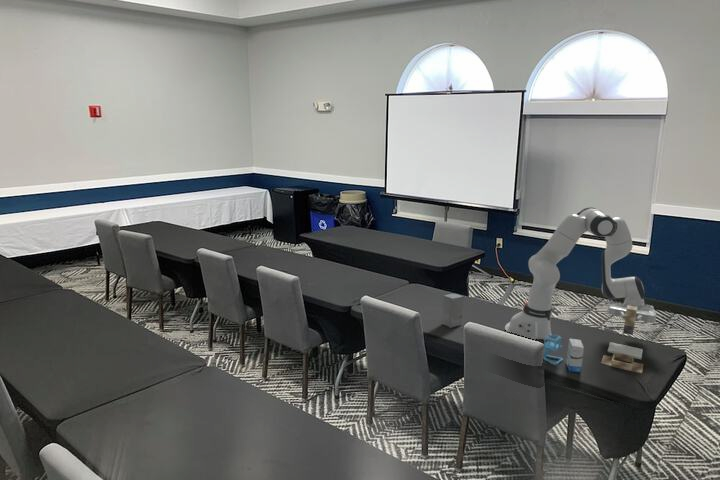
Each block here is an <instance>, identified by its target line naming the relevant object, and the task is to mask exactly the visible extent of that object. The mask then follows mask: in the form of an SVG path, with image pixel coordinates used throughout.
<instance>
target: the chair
mask: <svg viewBox="0 0 720 480" xmlns="http://www.w3.org/2000/svg"><path fill="white" fill-rule="evenodd" d="M553 337H554V338H553ZM542 340H543V342H544V343H543V344H544V349H543V348H542V352H543V356H544V361H545V362H547V361H548V362H547V363H549V364H551V365H552V364H553V365H552V366H554V365H555V366H554V367H556V366H558V365H559V364H561V363H562V362H563V361H564V358H563V357H559V356H554V355H550V354H549V352H550V351H552V352H554V353H555V352H556V353H557V351H558V350H560V349H562V348H563V345H562V343H561V342H562V340H563V338H562V337H561V336H560V335H558V334H552V335H549V338H543V339H542ZM547 357H548V358H547ZM552 358H553V359H554V360H557V361H555V362H554V361H552V360H551V359H552Z"/></svg>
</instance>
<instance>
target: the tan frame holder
mask: <svg viewBox="0 0 720 480" xmlns="http://www.w3.org/2000/svg"><path fill="white" fill-rule="evenodd" d="M612 354H613V355H612V356H610V355H609V356H608V355H606V354H604V355H603V356H602V359H601V362H600V364H601V365H603V366H604V365H605V366H608V367H612V368H617V369H620V370H625V371H629V372H633V373H639V374H641V375H642V374H643V369H644V363H639V362H635V358H634V356H629V355H625V354H621V353H616V352H614V353H612Z"/></svg>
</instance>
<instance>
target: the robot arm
mask: <svg viewBox="0 0 720 480" xmlns="http://www.w3.org/2000/svg"><path fill="white" fill-rule="evenodd" d="M585 233H590V234H593V236H596V237H599V238H605V239H604V240H605V244H606V247H605V249H604V250H603V251H602V253H601V279H602V280H601V281H602V283H601V293H602V295H603V297H605V298H606V299H608V300H610V301H611V300H616V299H620V298H621V299H622V298H624V301H623V304H618V303H610V304H609V305H608V307H607V314H608V315H611V316H615V317H620V318H621V319H622V320H625V317H626V310H627V306H628V305H629V306H634V307H637V312H636V318H635V322H646V323H653V324H655V323H656V320H657V312H656V310H655V308H654V306H653V305H650V304H646V303H645V299H644V298H645V295H646V292H645V291H646V289H645V285H644V282H643V281H642V279H640V278H639V277H637V276H626V277H621V278H620V277H619V278H612V274H611V272H612V271H611V266H612V265H613V264H614V263H615V262H617V261H619V260H621V259H623V258H625V257H627V256H628V255H629V254H630V253H631V252H632V249H633V241H632V240H633V238H632V235H631V231H630V229H629V227H628V224H627V222H626V220H625V219H624V218H622V217H618V216H616V217H615V216H613V217H611V216H610V215H608V214H606V213H605V212H604V211H602V210H599V209H597V208H596V207H591V206H590V207H585V208H583V209H581V210H580V211H579V212H578V213H569V214H568V215H566V217H565V218H564V219H563V220H562V221H561V222H560V223H559V225H558V226H557V228H556V230H555V231H554V232H553V233H552V235H551V237H550V238H549V239H548V241H547V242H546V243H545V244H544V245H543V246H542V247H541V249H539V251H537V252H536V253H535V254H534V255H532V256H531V257H530V258H529V259H528V262H527V263H528V265H527V266H528V269H529V272H530V273H531V274H532V275H533V282H532V285H531V287H530V289H529V291H528V301H527V302H524V304H523V306H522V311H520V312H517V313H516V314H514V315H513V316H512V317H511V319H510V321H509V322H507V323H506V324H505V326H504V331H505V330H506V331H505V332H506V333H509V332H510V333H509V334H512V333H517V335H516V336H518V334H519V335H520V336H519V337H522V336H524V337H523V338H525V337H527V338H526V339H528V338H531V339H534V340H533V341H536V339H537V340H544V339H543V338H549V335H553V334H552V329H551V320H552V314H553V308H552V304H553V298H554V297H553V296H554V292H555V289H556V286H557V283H558V282H559V281H560V279H561V273H560V270H559V268H558V266H557V264H558V263H559V262H560V261H562V260H563V259H564V258H566V257H568V256H569V254H570V253H571V252H572V250H573V249H574V247H575V246H576V244H577V243H578V241H579V240H580V238H581V237H582V236H583V235H584V234H585ZM511 332H512V333H511ZM521 335H522V336H521ZM531 339H530V340H531Z"/></svg>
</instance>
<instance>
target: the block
mask: <svg viewBox="0 0 720 480" xmlns="http://www.w3.org/2000/svg"><path fill="white" fill-rule="evenodd" d="M636 312H637V307H634V306H629V305H628V306H627V310H626V317H625V319H624V324H623V330H622V332H623V334H626V335H631V336H633V335H634V330H635V325H636V321H635V318H636Z"/></svg>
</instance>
